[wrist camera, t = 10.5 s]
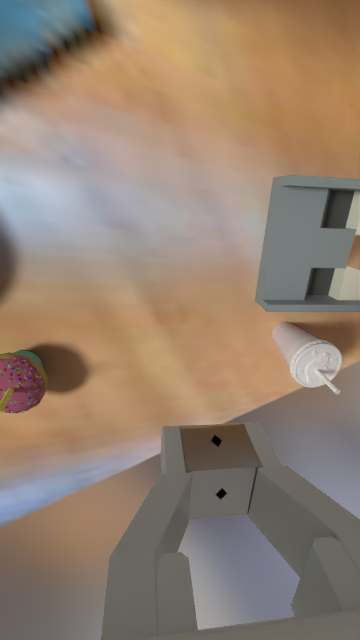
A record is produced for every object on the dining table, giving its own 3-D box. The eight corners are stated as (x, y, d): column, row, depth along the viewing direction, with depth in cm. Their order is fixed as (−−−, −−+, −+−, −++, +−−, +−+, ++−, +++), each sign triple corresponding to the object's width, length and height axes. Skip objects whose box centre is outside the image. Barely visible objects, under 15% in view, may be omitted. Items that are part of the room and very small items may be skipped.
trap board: (273, 177, 35) (290, 175, 31) (390, 184, 37) (421, 182, 33) (254, 300, 41) (267, 311, 37) (356, 301, 43) (378, 311, 39)
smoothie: (256, 344, 44) (301, 403, 31) (276, 308, 42) (333, 355, 29) (290, 356, 46) (346, 416, 33) (311, 321, 44) (380, 371, 31)
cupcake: (22, 327, 39) (-26, 378, 28) (69, 366, 42) (42, 426, 31) (-20, 363, 40) (-82, 425, 29) (29, 399, 43) (-11, 466, 32)
